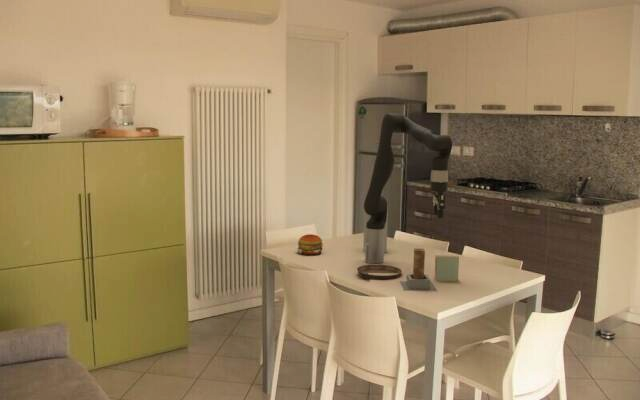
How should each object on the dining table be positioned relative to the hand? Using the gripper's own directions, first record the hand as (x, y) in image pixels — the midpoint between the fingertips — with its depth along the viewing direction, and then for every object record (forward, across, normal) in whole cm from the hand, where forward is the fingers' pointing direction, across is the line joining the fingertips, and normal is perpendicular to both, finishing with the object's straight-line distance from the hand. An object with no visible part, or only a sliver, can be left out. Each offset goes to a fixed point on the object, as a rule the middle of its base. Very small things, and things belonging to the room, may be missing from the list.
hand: (438, 216), depth 269 cm
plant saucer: (+29, -5, -25) cm, 39 cm away
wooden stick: (+28, +14, -11) cm, 33 cm away
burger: (+28, -49, -57) cm, 80 cm away
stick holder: (+29, +14, -11) cm, 34 cm away
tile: (+29, +5, +3) cm, 30 cm away
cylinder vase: (+28, -54, -22) cm, 65 cm away
